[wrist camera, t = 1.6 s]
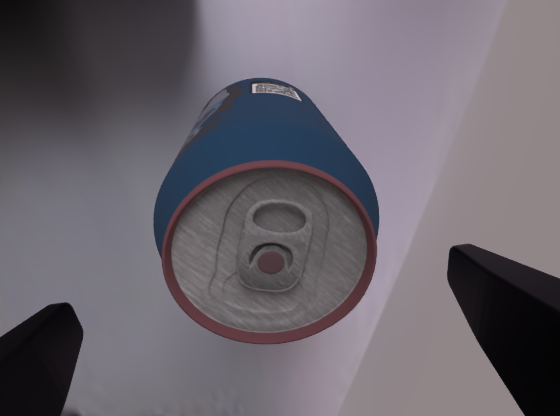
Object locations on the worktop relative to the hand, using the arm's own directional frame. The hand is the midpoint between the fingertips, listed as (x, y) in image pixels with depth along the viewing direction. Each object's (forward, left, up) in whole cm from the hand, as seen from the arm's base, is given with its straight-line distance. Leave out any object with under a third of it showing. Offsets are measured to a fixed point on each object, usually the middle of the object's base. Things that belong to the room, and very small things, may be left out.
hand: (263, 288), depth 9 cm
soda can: (0, 0, -13) cm, 13 cm away
